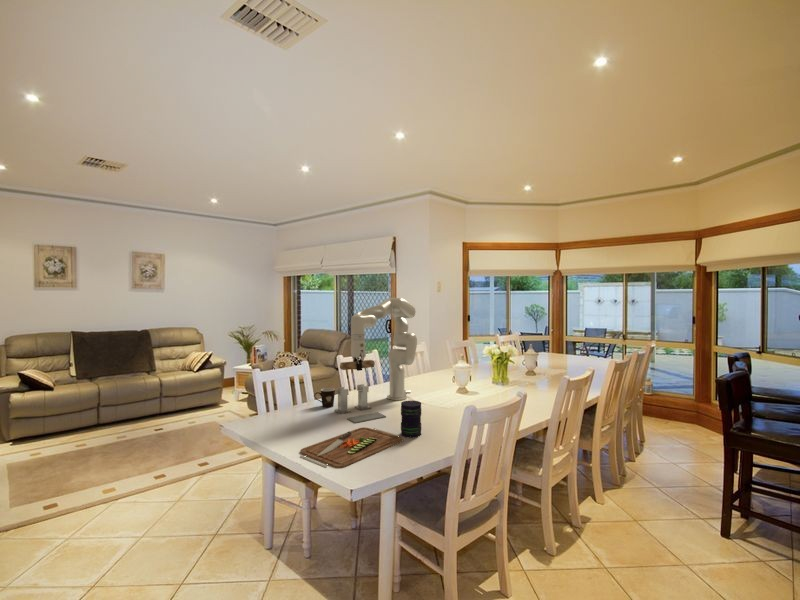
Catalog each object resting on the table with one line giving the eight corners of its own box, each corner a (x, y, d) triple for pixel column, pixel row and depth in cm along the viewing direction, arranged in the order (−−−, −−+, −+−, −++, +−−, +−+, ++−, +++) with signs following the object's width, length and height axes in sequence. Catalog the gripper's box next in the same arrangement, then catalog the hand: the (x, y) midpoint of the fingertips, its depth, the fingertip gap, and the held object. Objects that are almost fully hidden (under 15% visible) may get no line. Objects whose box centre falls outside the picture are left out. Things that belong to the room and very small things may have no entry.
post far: (365, 405, 245) (365, 383, 244) (370, 408, 239) (370, 386, 239) (354, 407, 241) (354, 385, 241) (360, 410, 235) (360, 387, 235)
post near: (345, 409, 237) (345, 386, 237) (351, 412, 232) (351, 388, 231) (334, 411, 233) (334, 388, 233) (339, 414, 228) (339, 390, 227)
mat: (377, 413, 230) (377, 412, 230) (386, 417, 222) (386, 416, 222) (347, 418, 219) (347, 417, 219) (355, 423, 212) (355, 422, 212)
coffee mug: (336, 404, 248) (336, 388, 247) (333, 408, 239) (333, 391, 239) (318, 404, 249) (318, 387, 248) (313, 407, 240) (313, 391, 240)
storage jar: (397, 436, 193) (397, 404, 192) (404, 429, 202) (404, 399, 202) (417, 439, 189) (417, 406, 189) (424, 432, 198) (424, 401, 198)
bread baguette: (371, 366, 237) (371, 359, 237) (374, 366, 234) (374, 360, 234) (339, 369, 226) (339, 362, 226) (342, 370, 223) (342, 363, 223)
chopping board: (335, 473, 154) (335, 465, 154) (292, 455, 171) (292, 448, 171) (408, 440, 189) (408, 433, 189) (366, 428, 206) (366, 421, 206)
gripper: (370, 338, 225) (370, 371, 225) (357, 335, 239) (357, 367, 239) (358, 338, 221) (358, 372, 221) (345, 336, 235) (345, 368, 235)
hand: (357, 369), depth 230 cm, fingers closed on bread baguette, 3 cm apart
